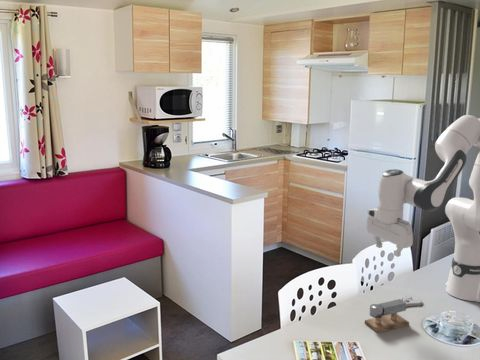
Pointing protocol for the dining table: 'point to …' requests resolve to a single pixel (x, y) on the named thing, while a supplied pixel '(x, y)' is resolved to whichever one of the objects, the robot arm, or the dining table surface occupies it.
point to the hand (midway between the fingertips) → (387, 251)
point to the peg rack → (386, 322)
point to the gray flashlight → (387, 308)
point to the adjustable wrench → (411, 301)
